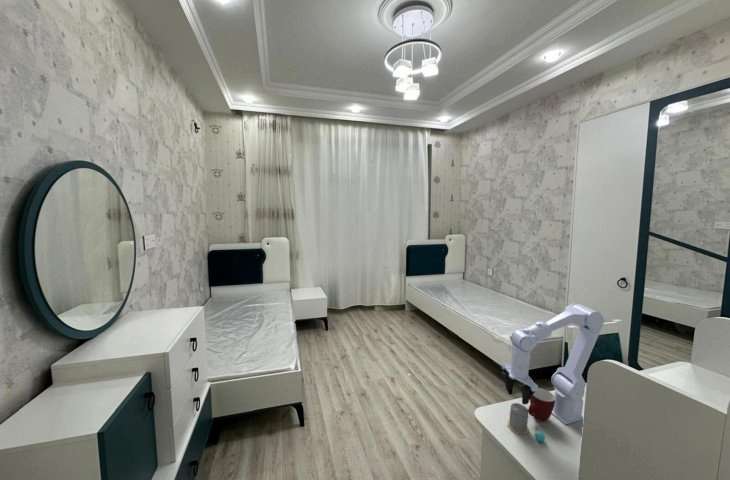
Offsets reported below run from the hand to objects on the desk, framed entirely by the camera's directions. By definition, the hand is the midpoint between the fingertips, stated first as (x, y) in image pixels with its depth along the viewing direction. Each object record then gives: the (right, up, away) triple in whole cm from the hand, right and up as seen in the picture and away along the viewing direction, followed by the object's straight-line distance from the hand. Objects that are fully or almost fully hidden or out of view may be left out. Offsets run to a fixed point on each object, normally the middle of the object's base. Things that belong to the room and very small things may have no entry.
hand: (516, 396), depth 108 cm
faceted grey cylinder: (-1, -9, -3) cm, 10 cm away
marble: (+4, -11, -8) cm, 14 cm away
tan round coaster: (-1, -10, -2) cm, 10 cm away
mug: (+9, -10, +1) cm, 13 cm away
